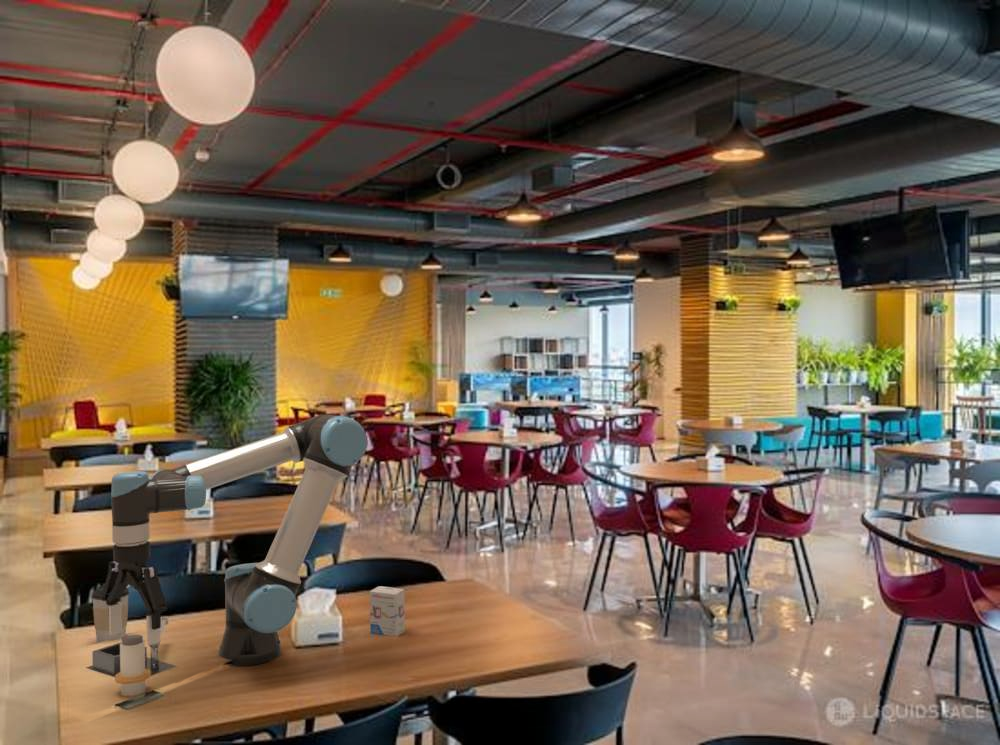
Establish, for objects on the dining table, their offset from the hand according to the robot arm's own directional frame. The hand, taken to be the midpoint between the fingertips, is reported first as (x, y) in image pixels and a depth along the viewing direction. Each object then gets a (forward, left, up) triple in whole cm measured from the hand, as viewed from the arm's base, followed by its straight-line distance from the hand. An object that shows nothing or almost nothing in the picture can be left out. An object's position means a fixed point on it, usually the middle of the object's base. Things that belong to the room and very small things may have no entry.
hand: (134, 638), depth 185 cm
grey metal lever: (+15, -17, -6) cm, 23 cm away
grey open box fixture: (+14, -9, -13) cm, 21 cm away
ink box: (-19, -64, -13) cm, 68 cm away
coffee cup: (+39, -20, -13) cm, 46 cm away
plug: (0, 0, -13) cm, 13 cm away
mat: (0, 0, -13) cm, 13 cm away
